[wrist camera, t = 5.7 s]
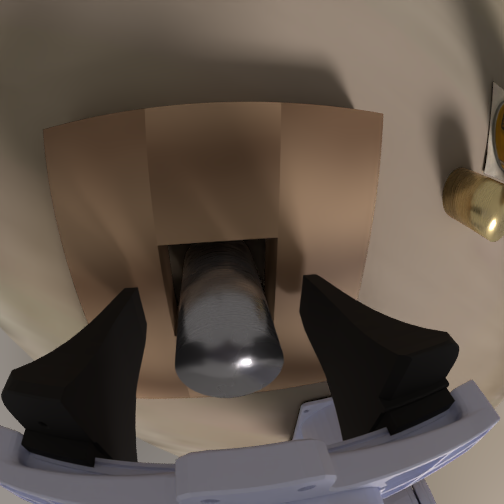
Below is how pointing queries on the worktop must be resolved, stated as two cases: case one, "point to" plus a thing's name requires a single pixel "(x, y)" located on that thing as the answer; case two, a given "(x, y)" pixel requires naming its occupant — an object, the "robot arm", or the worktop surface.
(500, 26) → the worktop surface
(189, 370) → the grey cylinder
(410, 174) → the worktop surface
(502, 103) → the condiment
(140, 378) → the hole block
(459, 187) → the short stub
